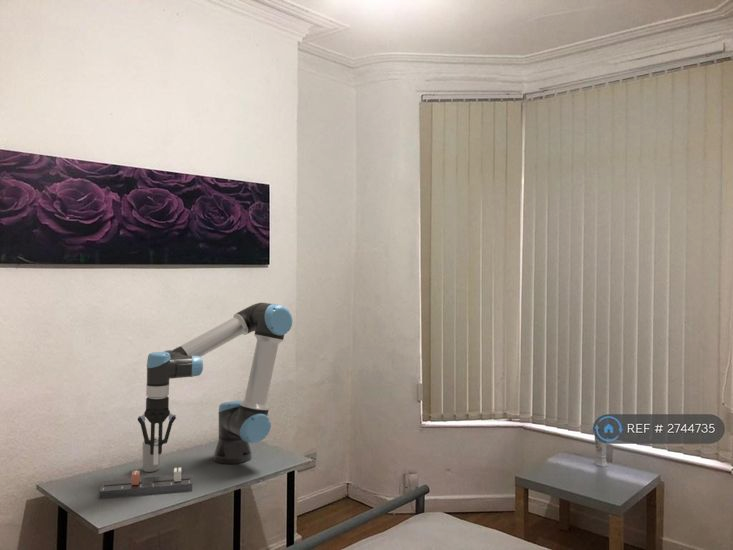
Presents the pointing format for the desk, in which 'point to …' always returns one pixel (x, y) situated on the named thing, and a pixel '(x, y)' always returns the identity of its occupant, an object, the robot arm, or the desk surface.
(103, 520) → the desk surface
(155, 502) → the desk surface
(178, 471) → the fader grey
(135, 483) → the fader red
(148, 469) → the beverage can
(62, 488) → the desk surface
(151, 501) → the desk surface
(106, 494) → the dark grey slider panel
